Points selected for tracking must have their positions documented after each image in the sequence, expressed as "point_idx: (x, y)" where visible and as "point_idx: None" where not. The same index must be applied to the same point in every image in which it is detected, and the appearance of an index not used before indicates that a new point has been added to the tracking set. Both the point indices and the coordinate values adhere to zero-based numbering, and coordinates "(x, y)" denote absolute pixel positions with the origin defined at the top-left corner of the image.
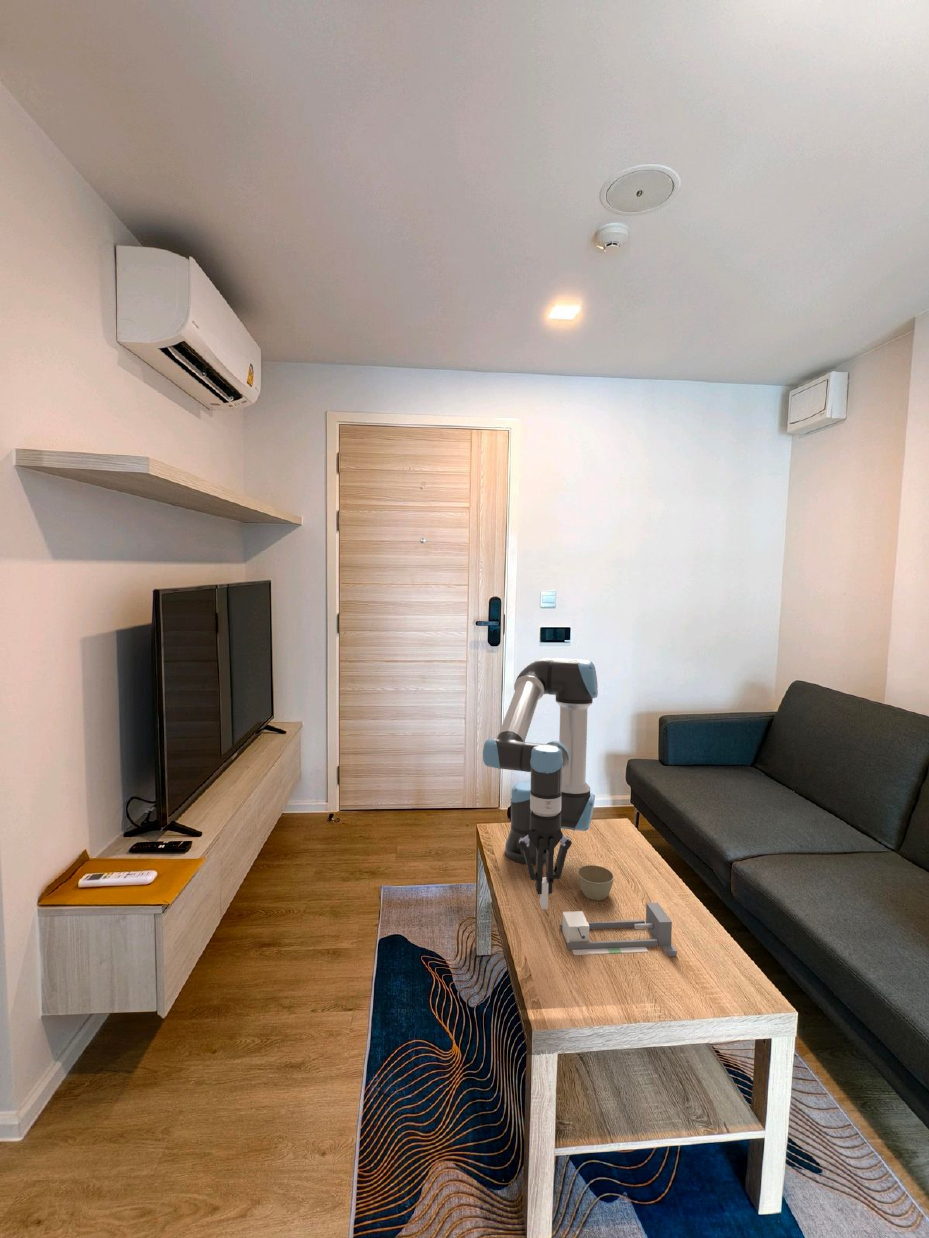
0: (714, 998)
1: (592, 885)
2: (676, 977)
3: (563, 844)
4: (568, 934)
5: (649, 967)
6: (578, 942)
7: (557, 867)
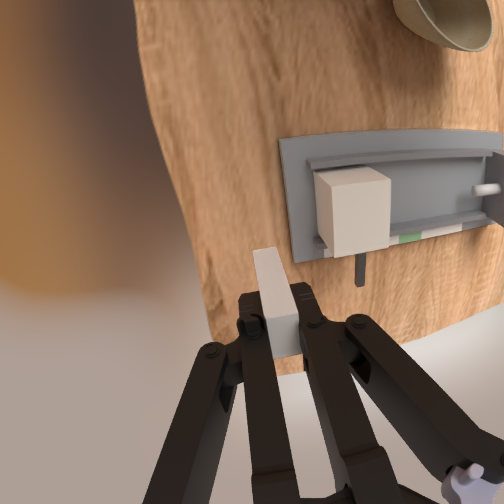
0: (477, 297)
1: (441, 40)
2: (464, 268)
3: (443, 497)
4: (326, 242)
5: (444, 252)
6: None
7: (369, 391)
